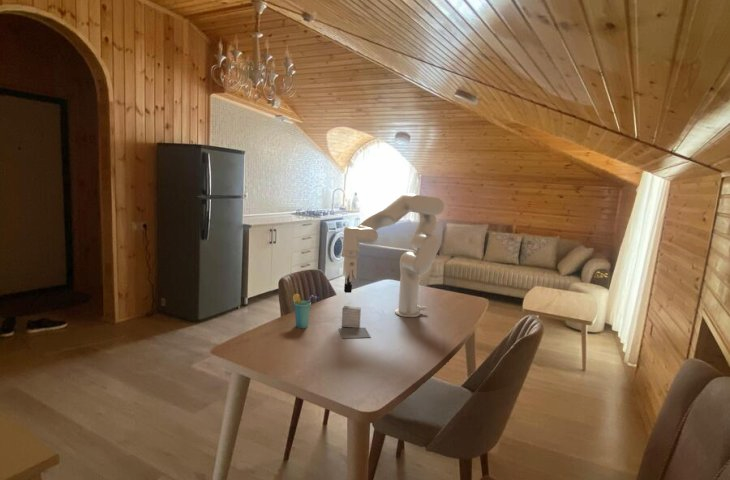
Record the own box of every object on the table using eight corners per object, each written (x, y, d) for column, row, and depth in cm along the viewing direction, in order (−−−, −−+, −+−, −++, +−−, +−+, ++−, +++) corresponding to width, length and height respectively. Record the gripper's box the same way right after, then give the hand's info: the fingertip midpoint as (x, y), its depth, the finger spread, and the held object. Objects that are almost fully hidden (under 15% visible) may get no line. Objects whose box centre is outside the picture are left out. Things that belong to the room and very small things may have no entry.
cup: (321, 326, 175) (323, 294, 173) (312, 332, 168) (313, 298, 166) (295, 320, 180) (296, 289, 178) (285, 326, 173) (286, 293, 171)
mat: (365, 328, 176) (365, 327, 176) (370, 337, 165) (370, 337, 165) (338, 329, 173) (338, 328, 173) (342, 338, 162) (342, 338, 162)
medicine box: (360, 325, 179) (361, 306, 178) (359, 328, 174) (360, 309, 173) (343, 324, 179) (343, 305, 179) (341, 327, 175) (342, 308, 174)
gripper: (361, 256, 175) (358, 296, 177) (355, 251, 189) (352, 288, 191) (345, 256, 173) (342, 296, 175) (340, 250, 187) (337, 287, 190)
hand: (347, 292), depth 183 cm, fingers closed
